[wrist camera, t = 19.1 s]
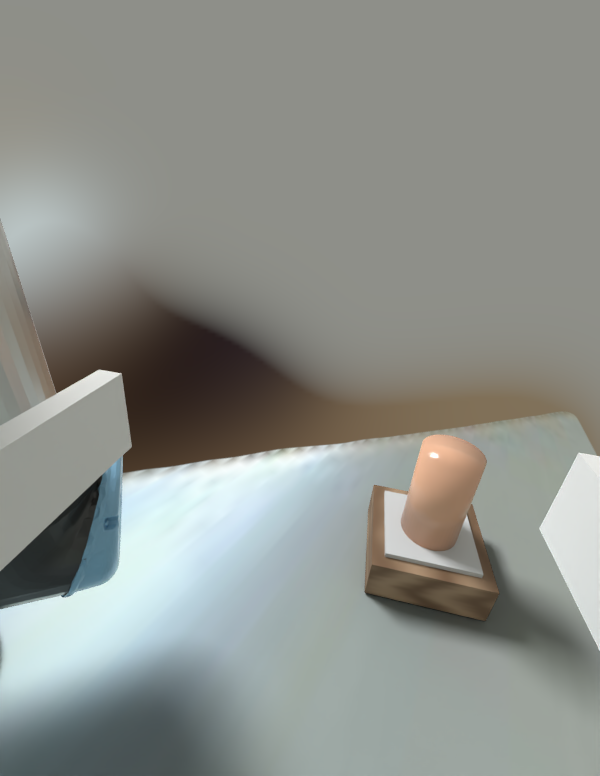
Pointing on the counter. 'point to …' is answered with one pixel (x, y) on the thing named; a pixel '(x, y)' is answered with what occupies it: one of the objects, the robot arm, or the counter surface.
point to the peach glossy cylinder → (441, 491)
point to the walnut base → (426, 563)
